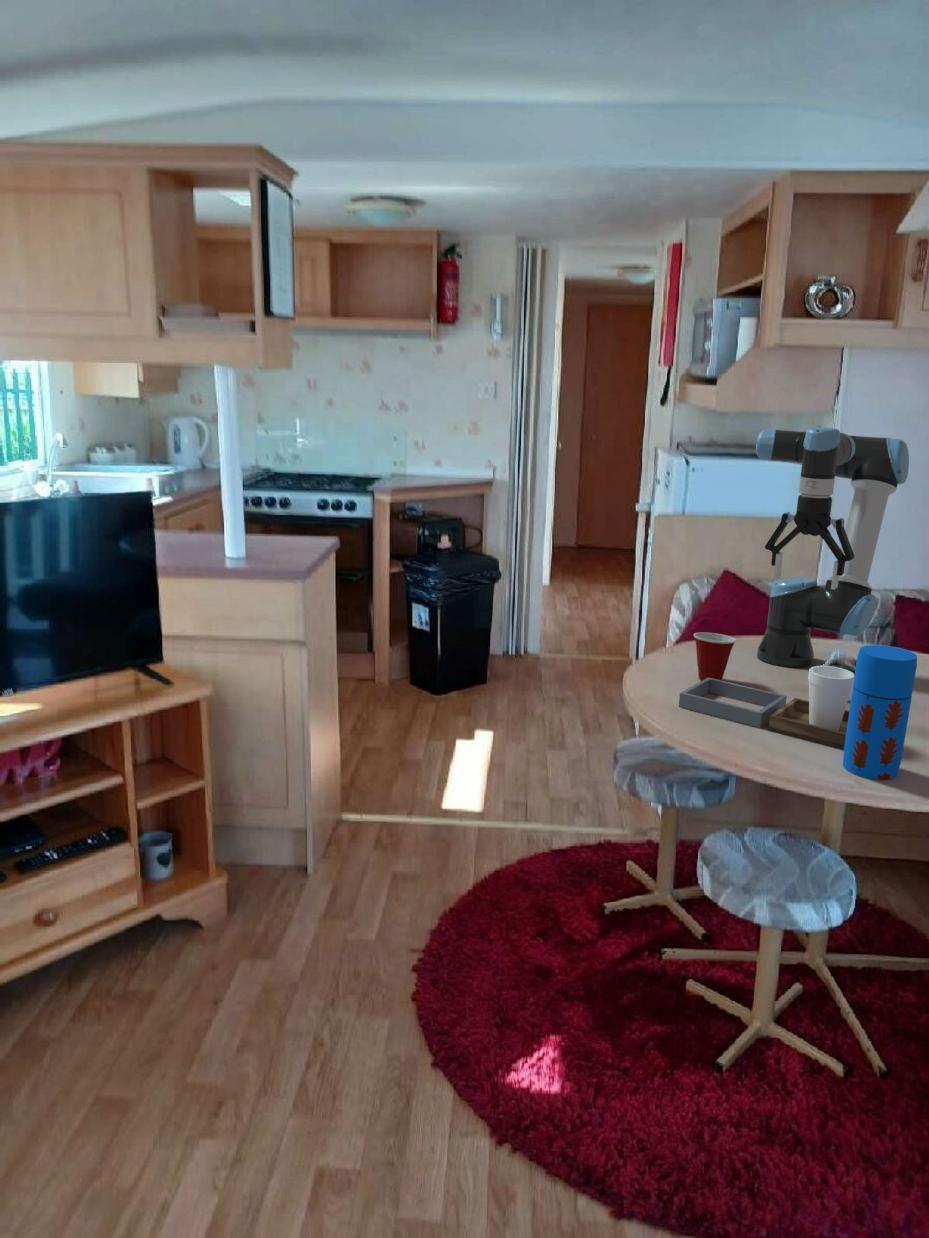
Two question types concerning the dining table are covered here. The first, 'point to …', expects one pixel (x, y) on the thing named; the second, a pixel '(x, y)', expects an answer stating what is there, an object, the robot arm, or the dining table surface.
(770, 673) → the dining table surface
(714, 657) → the plastic cup
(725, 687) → the bin
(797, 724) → the bin
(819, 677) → the foam cup
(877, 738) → the thermos
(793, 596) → the robot arm
